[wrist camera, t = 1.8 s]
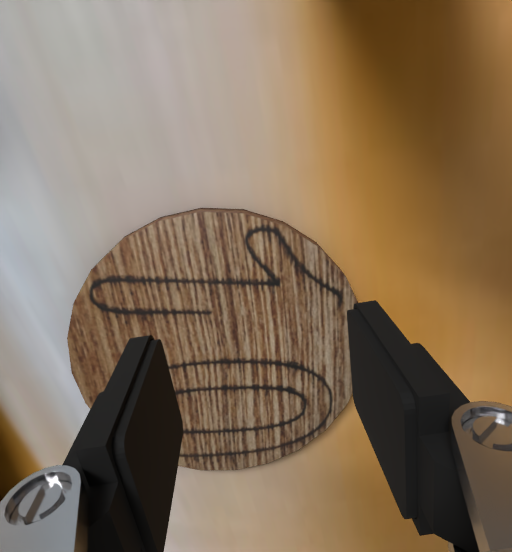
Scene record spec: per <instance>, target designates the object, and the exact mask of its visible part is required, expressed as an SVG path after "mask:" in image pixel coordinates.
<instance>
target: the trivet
mask: <svg viewBox="0 0 512 552" xmlns="http://www.w3.org/2000/svg"><path fill="white" fill-rule="evenodd" d="M355 303H358V302H357V300H356V297H355V295H354V293H353V291H352V289H351V287H350V285H349V283H348V280H347V278H346V276H345V275H344V274H343V272H342V271H341V269H340V268H339V267H338V266H337V265H336V264H335V263H334V262H333V261H332V259H331V258H330V257H329V256H328V255H327V254H326V253H325V252H324V251H323V249H322V248H321V247H320V246H319V245H318V244H317V243H316V242H315V241H313V240H312V239H310V238H308V237H307V236H305V235H304V234H302V233H301V232H299V231H297V230H296V229H294V228H293V227H291V226H289V225H288V224H286V223H285V222H283V221H280V220H277V219H273V218H270V217H267V216H264V215H260V214H257V213H254V212H250V211H247V210H244V209H218V208H199V209H194V210H190V211H186V212H181V213H177V214H173V215H168V216H164V217H160V218H158V219H156V220H155V221H153V222H151V223H149V224H147V225H145V226H144V227H142V228H140V229H138V230H136V231H134V232H132V233H131V234H129V235H127V236H125V237H124V238H123V239H122V240H121V241H120V242H119V243H118V244H117V245H116V246H115V247H114V248H113V249H112V250H111V251H110V252H109V253H108V254H107V255H106V256H105V257H104V258H103V259H102V260H101V261H100V262H99V263H98V264H97V265H96V266H95V267H94V268H93V269H92V270H91V272H90V273H89V275H88V277H87V279H86V281H85V283H84V285H83V287H82V288H81V290H80V292H79V294H78V296H77V298H76V300H75V302H74V304H73V310H72V315H71V321H70V326H69V332H68V337H67V339H68V347H69V355H70V362H71V370H72V374H73V376H74V378H75V380H76V383H77V385H78V387H79V389H80V392H81V394H82V396H83V398H84V400H85V403H86V404H87V405H88V407H89V408H90V409H91V407H92V405H93V403H94V402H95V400H96V398H97V396H98V395H99V393H100V392H103V391H104V390H105V388H106V386H107V384H108V381H109V379H110V377H111V375H112V373H113V371H114V369H115V367H116V365H117V363H118V361H119V359H120V357H121V355H122V353H123V351H124V349H125V347H126V345H127V343H128V341H129V339H130V338H135V337H141V336H148V335H152V336H153V337H154V339H155V340H157V339H160V340H161V342H162V344H163V348H164V352H165V356H166V359H167V363H168V367H169V371H170V375H171V379H172V382H173V386H174V390H175V394H176V398H177V402H178V405H179V409H180V413H181V417H182V421H183V438H182V444H181V450H180V456H179V462H178V466H182V467H187V468H192V469H197V470H238V469H242V468H247V467H252V466H257V465H261V464H266V463H270V462H272V461H274V460H276V459H279V458H281V457H283V456H286V455H288V454H290V453H292V452H295V451H297V450H299V449H300V448H302V447H303V446H305V445H306V444H307V443H309V442H310V441H311V440H313V439H314V438H315V437H317V436H318V435H319V434H321V433H322V432H324V431H325V430H326V429H327V428H328V427H329V425H330V424H331V423H332V422H333V421H334V419H335V418H336V417H337V416H338V415H339V413H340V412H341V411H342V410H343V409H344V407H345V406H346V405H347V403H348V401H349V399H350V397H351V395H352V378H351V365H350V351H349V338H348V324H347V310H352V309H353V306H354V304H355Z"/></svg>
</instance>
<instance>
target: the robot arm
mask: <svg viewBox="0 0 512 552" xmlns="http://www.w3.org/2000/svg"><path fill="white" fill-rule="evenodd" d="M347 324H348V338H349V351H350V365H351V378H352V392H353V399H354V403H355V406H356V409H357V411H358V414H359V416H360V418H361V421H362V423H363V425H364V428H365V430H366V433H367V435H368V437H369V440H370V442H371V444H372V447H373V449H374V451H375V454H376V456H377V458H378V461H379V463H380V465H381V468H382V470H383V472H384V475H385V477H386V479H387V482H388V484H389V486H390V489H391V491H392V493H393V496H394V498H395V500H396V503H397V505H398V507H399V510H400V512H401V514H402V516H403V518H404V519H410V518H412V519H413V522H414V524H415V526H416V528H417V531H418V533H419V535H420V536H421V535H427V534H436V535H437V536H439V537H441V538H443V539H445V540H447V541H448V548H449V552H512V407H511V406H508V405H504V404H501V403H497V402H488V401H478V402H470V401H469V400H468V399H467V398H466V397H465V396H464V394H463V393H462V392H461V391H460V390H459V388H458V387H457V386H456V385H455V384H454V383H453V381H452V380H451V379H450V378H449V377H448V375H447V374H446V373H445V372H444V371H443V370H442V368H441V367H440V366H439V365H438V364H437V362H436V361H435V360H434V359H433V358H432V357H431V355H430V354H429V353H428V352H427V351H426V349H425V348H424V347H423V346H422V345H421V344H419V343H414V344H410V342H409V341H408V340H407V339H406V337H405V336H404V335H403V334H402V332H401V331H400V330H399V329H398V327H397V326H396V325H395V324H394V322H393V321H392V320H391V319H390V317H389V316H388V315H387V314H386V312H385V311H384V310H383V309H382V307H381V306H380V305H379V304H378V302H377V301H376V300H375V301H368V302H362V303H355V304H354V306H353V309H352V310H347ZM182 438H183V421H182V417H181V413H180V409H179V405H178V402H177V398H176V394H175V390H174V386H173V382H172V379H171V375H170V371H169V367H168V363H167V359H166V356H165V352H164V348H163V344H162V342H161V340H160V339H157V340H155V339H154V337H153V336H152V335H148V336H141V337H135V338H130V339H129V341H128V343H127V345H126V347H125V349H124V351H123V353H122V355H121V357H120V359H119V361H118V363H117V365H116V367H115V369H114V371H113V373H112V375H111V377H110V379H109V381H108V384H107V386H106V388H105V390H104V391H103V392H100V393H99V395H98V396H97V398H96V400H95V402H94V403H93V405H92V407H91V409H90V411H89V413H88V415H87V417H86V419H85V421H84V423H83V425H82V427H81V429H80V431H79V433H78V435H77V437H76V439H75V441H74V443H73V445H72V447H71V449H70V451H69V453H68V455H67V457H66V459H65V461H64V463H63V465H56V466H52V467H48V468H44V469H42V470H40V471H37V472H35V473H33V474H31V475H30V476H28V477H26V478H25V479H23V480H22V481H20V482H19V483H18V484H17V485H16V486H14V487H13V488H12V489H11V490H10V491H9V492H8V493H7V495H6V496H5V497H4V498H3V499H2V501H1V502H0V552H163V551H164V546H165V540H166V534H167V528H168V522H169V516H170V510H171V504H172V498H173V492H174V486H175V480H176V474H177V468H178V462H179V456H180V450H181V444H182Z"/></svg>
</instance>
